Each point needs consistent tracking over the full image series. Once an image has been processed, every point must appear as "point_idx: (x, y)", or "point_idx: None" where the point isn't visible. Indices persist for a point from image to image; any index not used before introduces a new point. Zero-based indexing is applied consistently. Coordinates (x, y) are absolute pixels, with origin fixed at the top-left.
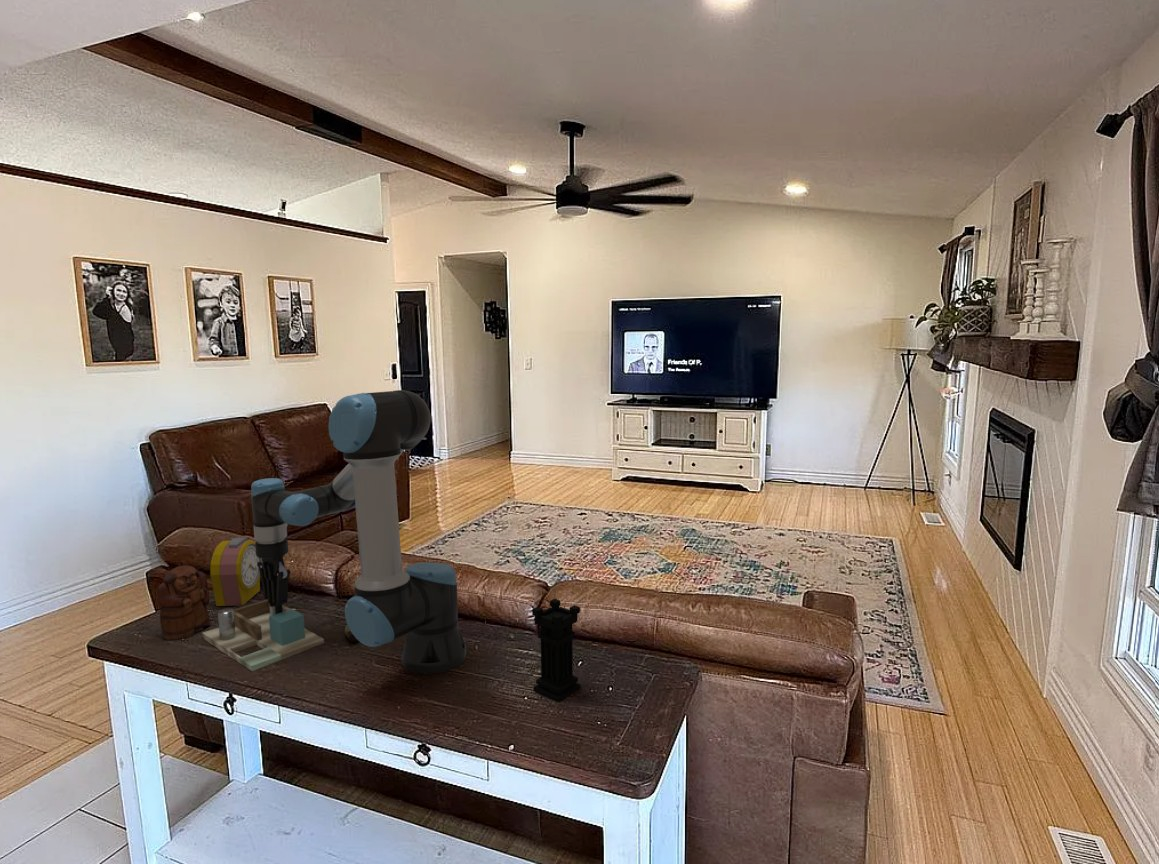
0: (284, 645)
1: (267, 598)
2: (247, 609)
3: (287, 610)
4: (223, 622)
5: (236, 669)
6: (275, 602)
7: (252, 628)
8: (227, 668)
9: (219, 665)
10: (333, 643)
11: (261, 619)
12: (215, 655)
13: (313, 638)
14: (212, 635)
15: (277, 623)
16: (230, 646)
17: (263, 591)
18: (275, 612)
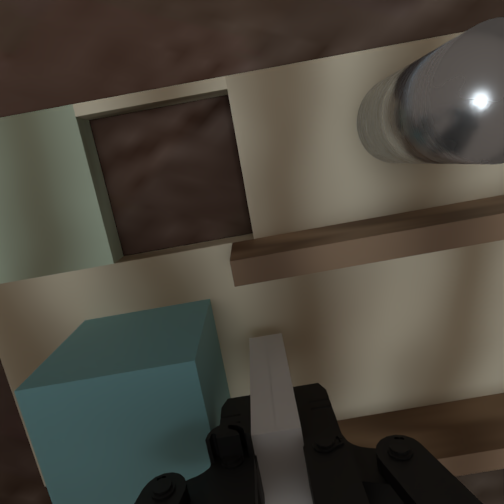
0: None
1: (376, 455)
2: None
3: None
4: (411, 72)
5: (29, 79)
6: (212, 484)
7: (295, 243)
8: (69, 43)
9: (133, 16)
10: (45, 495)
11: (502, 328)
12: (274, 28)
13: None
14: None
15: (65, 374)
16: (257, 102)
17: (459, 488)
18: (250, 415)
